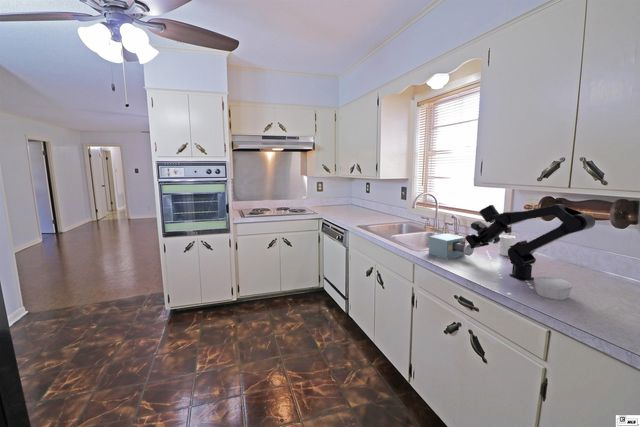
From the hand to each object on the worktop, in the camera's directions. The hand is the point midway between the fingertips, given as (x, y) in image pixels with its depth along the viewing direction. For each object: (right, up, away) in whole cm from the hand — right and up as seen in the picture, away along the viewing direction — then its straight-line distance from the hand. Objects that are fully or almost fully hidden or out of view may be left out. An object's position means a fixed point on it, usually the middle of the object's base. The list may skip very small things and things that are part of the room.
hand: (471, 247), depth 147 cm
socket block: (-6, -5, +14) cm, 17 cm away
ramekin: (+10, -13, -38) cm, 42 cm away
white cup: (+25, -5, +12) cm, 28 cm away
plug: (-3, -3, +8) cm, 9 cm away
